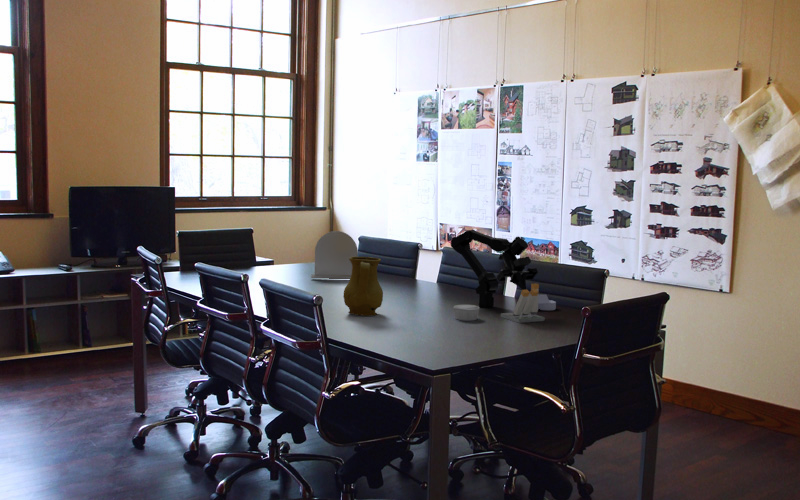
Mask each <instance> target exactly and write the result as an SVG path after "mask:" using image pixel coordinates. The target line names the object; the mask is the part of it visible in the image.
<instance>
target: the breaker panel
mask: <svg viewBox="0 0 800 500" xmlns="http://www.w3.org/2000/svg"><path fill="white" fill-rule="evenodd" d="M522 313H523V312H521V315H519V316H513V314H515V313H514V311H513V312H504V313H502V312H501V313H500V318H503V319H506V320H509V321H512V322H515V323H517V324H523V323H532V322H533V323H535V322H545V319H546V317H544V316H541V315H538V314H537V315H531V313H532V312H530V314H528V315H522Z"/></svg>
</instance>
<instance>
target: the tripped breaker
mask: <svg viewBox="0 0 800 500" xmlns="http://www.w3.org/2000/svg"><path fill="white" fill-rule="evenodd" d="M530 285H531V286H530V290H531V289H537V291H538V292H539V290H540V289H539V288H540V283H536V282H535V283H530ZM539 293H540V292H539ZM538 295H539V294H538ZM538 295H537V297H536V299H535V302H534V304H533V306H532V309H531V311H530V313H531V315H538V312H539V309H538Z"/></svg>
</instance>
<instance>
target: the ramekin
mask: <svg viewBox="0 0 800 500" xmlns="http://www.w3.org/2000/svg"><path fill="white" fill-rule="evenodd" d="M480 308H481V307H479V306H478V305H474V304H457V305H454V306H453V312H454V318H455V319H456V320H458V321H464V322H465V321H466V322H470V321H471V322H472V321H476V320H477V319H478V316H479V312H480Z"/></svg>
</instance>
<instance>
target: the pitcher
mask: <svg viewBox="0 0 800 500" xmlns="http://www.w3.org/2000/svg"><path fill="white" fill-rule="evenodd" d="M349 260H350V261H351V263H352V274H351V278H350V281H348V282H347V285H345V287H344V289H343V301H344V305H345V306H346V307H347V308H348V309H349V311H348V312H347V313H348V314H350V315H354V316H355V315H356V316H363V317H369V316H370V317H372V316H378V313H377V312H376V310H377V309H378V308H381V307H382V305H383V301H384V299H383V298H384V292H383V291H384V290H383V288H382V286H381V284H380V282H379V279H378V266H379V264H380V262H382V259H381V258H379V257H371V256H358V257H350V258H349Z"/></svg>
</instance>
